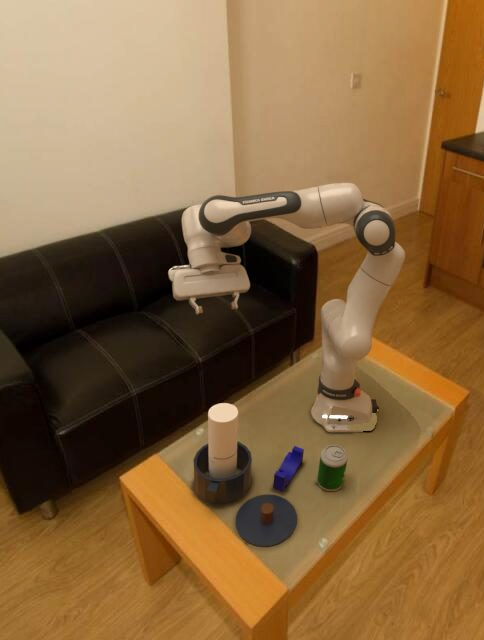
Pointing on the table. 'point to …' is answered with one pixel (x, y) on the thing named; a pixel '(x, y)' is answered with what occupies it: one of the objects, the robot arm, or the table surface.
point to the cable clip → (288, 468)
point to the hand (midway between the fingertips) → (217, 311)
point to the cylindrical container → (222, 440)
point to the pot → (222, 488)
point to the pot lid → (266, 520)
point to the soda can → (332, 468)
